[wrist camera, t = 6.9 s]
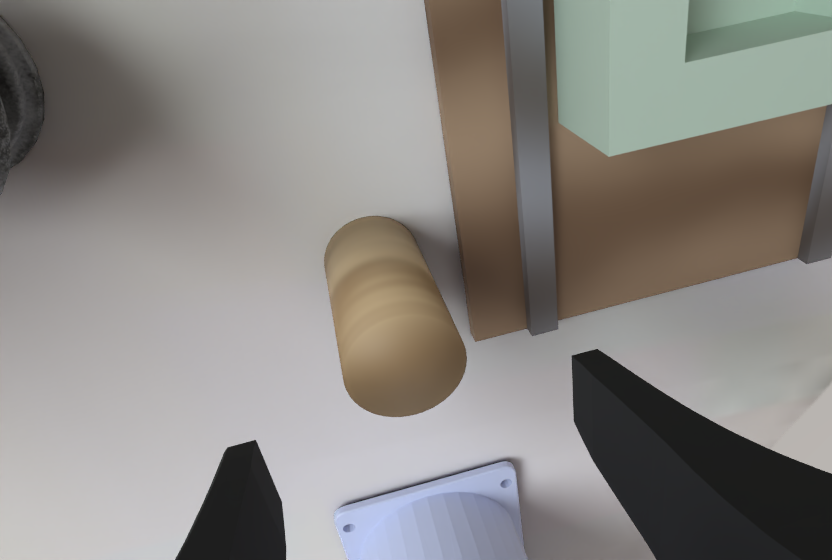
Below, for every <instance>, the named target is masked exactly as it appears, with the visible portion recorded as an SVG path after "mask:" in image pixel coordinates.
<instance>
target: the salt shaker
mask: <svg viewBox="0 0 832 560" xmlns="http://www.w3.org/2000/svg"><path fill="white" fill-rule="evenodd" d="M43 120H44V92H43V89H42V85H41V82H40V78H39V75H38V71H37V68H36V65H35V64H34V62H33V60H32V58H31V57H30V55H29V53H28V51H27V50H26V48H25V46H24V44H23V43H22V41H21V39H20V38H19V37H18V36H17V35H16V34H15V32H14V31H13V30H12V29H11V28H10V27H9V26H8V25H7V24H6V22H5V21H4V20H3V19H2V18H1V17H0V195H1V194H2V191H3V188H4V185H5V182H6V179H7V175H8V172H9V169H10V168H11V167H13V166H14V165H16V164H17V163H19V162H20V161H21V160H22V159H23V158H24V157H25V155H26V154H27V153H28V152H29V150H30V149H31V148H32V146H33V145H34V144H35V142H36V141H37V138H38V135H39V132H40V129H41V126H42V123H43Z"/></svg>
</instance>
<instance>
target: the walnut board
mask: <svg viewBox="0 0 832 560" xmlns="http://www.w3.org/2000/svg"><path fill="white" fill-rule="evenodd" d="M424 3H425V10H426V17H427V24H428V31H429V38H430V46H431V53H432V60H433V67H434V74H435V81H436V88H437V95H438V102H439V110H440V117H441V124H442V131H443V138H444V145H445V152H446V159H447V167H448V174H449V181H450V188H451V195H452V202H453V209H454V216H455V223H456V231H457V238H458V245H459V252H460V259H461V266H462V273H463V280H464V288H465V295H466V302H467V309H468V316H469V323H470V330H471V334H472V336H473V338H474V340H475V342H477V341H481V340H484V339H488V338H492V337H496V336H500V335H504V334H507V333H511V332H515V331H519V330H523V329H528V330H529V332H530V334H531V335H532V336H534V335H538V334H542V333H545V332H549V331H553V330H557V329H558V320H561V319H565V318H569V317H573V316H577V315H580V314H584V313H588V312H592V311H596V310H600V309H603V308H607V307H611V306H615V305H619V304H623V303H626V302H630V301H634V300H638V299H642V298H646V297H650V296H653V295H657V294H661V293H665V292H669V291H673V290H676V289H680V288H684V287H688V286H692V285H696V284H699V283H703V282H707V281H711V280H715V279H719V278H722V277H726V276H730V275H734V274H738V273H742V272H746V271H749V270H753V269H757V268H761V267H765V266H769V265H772V264H776V263H780V262H784V261H788V260H792V259H795V258H798V259H800V260H801V261H803V262H805V263H806V264H809V263H813V262H817V261H820V260H824V259H828V258H831V255H832V104H830V105H826V106H822V107H818V108H813V109H809V110H805V111H801V112H796V113H792V114H788V115H784V116H780V117H775V118H771V119H767V120H763V121H758V122H754V123H750V124H746V125H741V126H737V127H733V128H729V129H724V130H720V131H716V132H712V133H707V134H703V135H699V136H695V137H691V138H686V139H682V140H678V141H674V142H669V143H665V144H661V145H657V146H652V147H648V148H644V149H640V150H635V151H631V152H627V153H623V154H619V155H614V156H610V157H608V156H607V155H605V154H604V153H602V152H601V151H600V150H598V149H597V148H595V147H594V146H592V145H591V144H589V143H588V142H586V141H585V140H583V139H582V138H580V137H579V136H577V135H576V134H574V133H573V132H571V131H570V130H569V129H567V128H566V127H564V126H563V125H561V124H560V123H558V97H557V71H556V45H555V19H554V0H424Z"/></svg>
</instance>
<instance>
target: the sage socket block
mask: <svg viewBox="0 0 832 560" xmlns="http://www.w3.org/2000/svg"><path fill="white" fill-rule="evenodd" d="M554 19H555V45H556V71H557V97H558V123H560V124H561V125H563V126H564V127H566V128H567V129H569V130H570V131H571V132H573V133H574V134H576V135H577V136H579V137H580V138H582V139H583V140H585V141H586V142H588V143H589V144H591V145H592V146H594V147H595V148H597V149H598V150H600V151H601V152H602V153H604V154H605V155H607V156H608V157H610V156H614V155H619V154H623V153H627V152H631V151H635V150H640V149H644V148H648V147H652V146H657V145H661V144H665V143H669V142H674V141H678V140H682V139H686V138H691V137H695V136H699V135H703V134H707V133H712V132H716V131H720V130H724V129H729V128H733V127H737V126H741V125H746V124H750V123H754V122H758V121H763V120H767V119H771V118H775V117H780V116H784V115H788V114H792V113H796V112H801V111H805V110H809V109H813V108H818V107H822V106H826V105H830V104H832V0H554Z"/></svg>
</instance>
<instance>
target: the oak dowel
mask: <svg viewBox="0 0 832 560" xmlns="http://www.w3.org/2000/svg"><path fill="white" fill-rule="evenodd" d="M324 266H325V272H326V278H327V284H328V290H329V296H330V302H331V308H332V314H333V320H334V327H335V333H336V339H337V345H338V351H339V357H340V363H341V369H342V375H343V380H344V385H345V388H346V390H347V392H348V394H349V395H350V397H351V398H352V399H353V401H354V402H355V403H357V404H358V405H359V406H360V407H362V408H363V409H365V410H367V411H369V412H371V413H374V414H377V415H382V416H388V417H403V416H410V415H415V414H418V413H421V412H424V411H426V410H429V409H431V408H433V407H435V406H436V405H438V404H439V403H441V402H442V401H444V400H445V399H446V398H447V397H448V396H449V395H450V394H451V393H452V392H453V391H454V390H455V389H456V387H457V386H458V385H459V383H460V381H461V379H462V377H463V375H464V372H465V368H466V361H467V356H466V349H465V346H464V343H463V341H462V339H461V337H460V335H459V332H458V330H457V328H456V326H455V324H454V322H453V320H452V317H451V315H450V313H449V311H448V309H447V307H446V305H445V303H444V300H443V298H442V296H441V294H440V292H439V290H438V288H437V286H436V283H435V281H434V279H433V277H432V275H431V273H430V271H429V268H428V266H427V264H426V262H425V260H424V258H423V256H422V254H421V251H420V249H419V247H418V245H417V243H416V241H415V239H414V237H413V235H412V234H411V232H410V231H409V230H408V229H407V228H406V227H405V226H404V225H402V224H401V223H399V222H397V221H395V220H393V219H390V218H386V217H381V216H368V217H363V218H359V219H356V220H354V221H351V222H349V223H348V224H346V225H344V226H343V227H342V228H341V229H339V230H338V231H337V232H336V233H335V235H334V236H333V237H332V238H331V240H330V242H329V244H328V246H327V248H326V252H325V257H324Z"/></svg>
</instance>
